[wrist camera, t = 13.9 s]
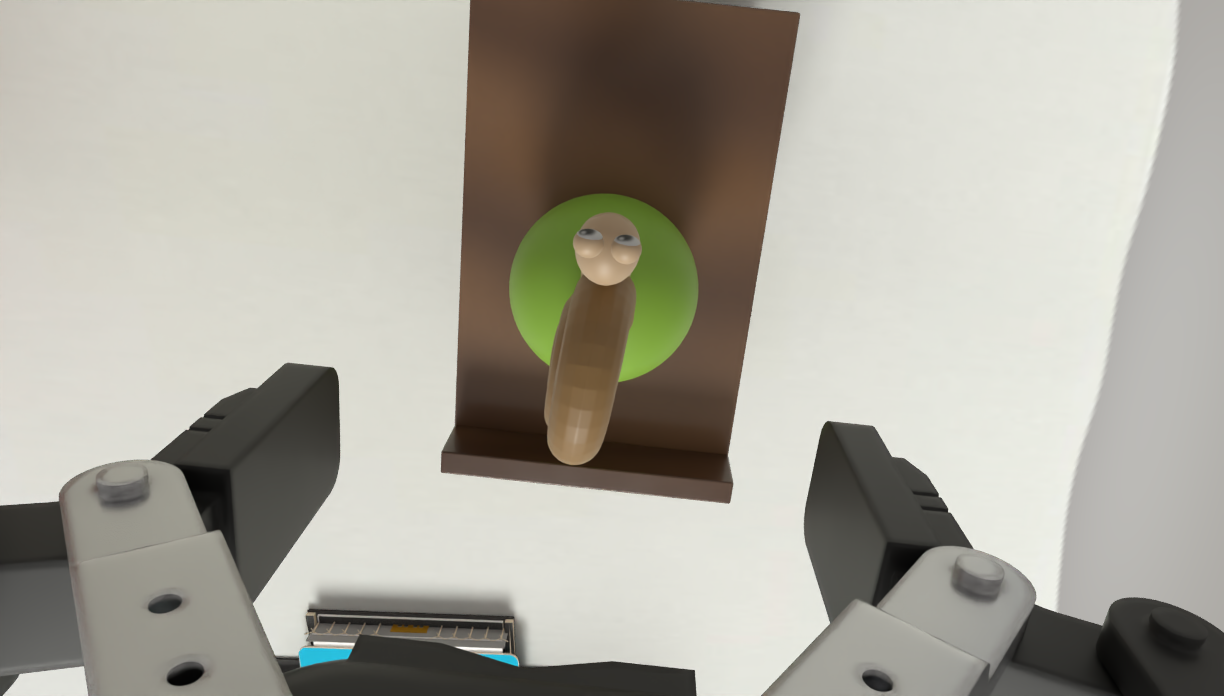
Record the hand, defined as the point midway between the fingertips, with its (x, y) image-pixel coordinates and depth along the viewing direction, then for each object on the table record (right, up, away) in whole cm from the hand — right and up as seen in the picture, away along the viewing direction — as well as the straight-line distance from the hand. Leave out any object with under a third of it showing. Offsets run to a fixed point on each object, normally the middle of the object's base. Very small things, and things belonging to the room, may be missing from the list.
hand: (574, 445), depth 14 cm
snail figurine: (+1, +5, +13) cm, 14 cm away
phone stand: (-11, -19, +35) cm, 41 cm away
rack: (+1, +9, +24) cm, 26 cm away
